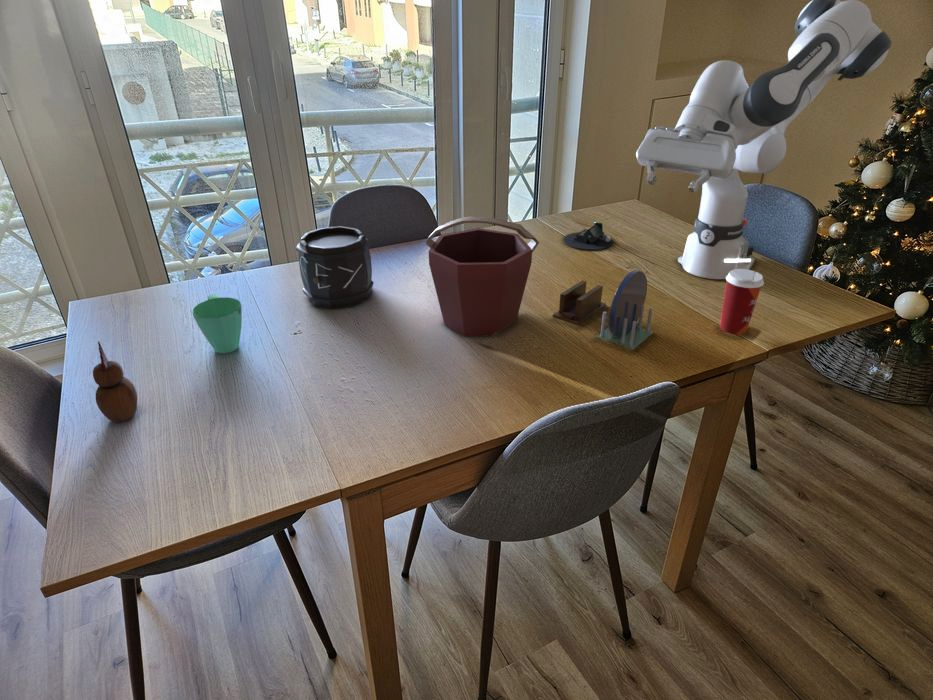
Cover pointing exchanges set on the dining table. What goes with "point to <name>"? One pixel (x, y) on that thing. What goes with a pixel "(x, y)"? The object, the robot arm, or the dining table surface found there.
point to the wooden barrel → (335, 266)
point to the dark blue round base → (589, 239)
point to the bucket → (480, 274)
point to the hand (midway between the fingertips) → (670, 186)
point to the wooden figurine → (114, 390)
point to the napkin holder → (579, 303)
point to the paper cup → (740, 300)
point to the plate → (627, 302)
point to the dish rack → (633, 337)
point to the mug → (220, 322)
